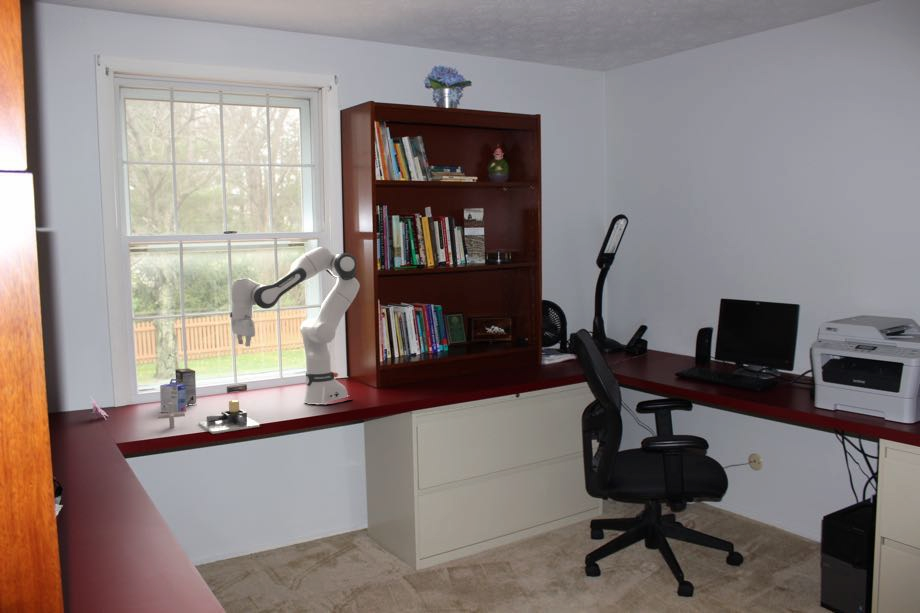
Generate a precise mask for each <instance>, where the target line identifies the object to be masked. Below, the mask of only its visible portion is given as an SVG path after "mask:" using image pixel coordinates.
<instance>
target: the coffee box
mask: <svg viewBox="0 0 920 613" xmlns="http://www.w3.org/2000/svg"><path fill="white" fill-rule="evenodd" d="M174 371H175V379H178V382H177V384H184V385H185V394H186V405H189V404H195V403H196V404H197V389H196V388H197V387H196V385H197V384H196V383H197V382H196V371H195V370H194V369H191V368H178V369H175V370H174Z"/></svg>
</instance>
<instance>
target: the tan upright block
mask: <svg viewBox="0 0 920 613" xmlns="http://www.w3.org/2000/svg"><path fill="white" fill-rule="evenodd" d="M239 409H240V400H236V399H233V400H229V401H228V411H229V414H236V413H239Z"/></svg>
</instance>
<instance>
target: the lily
mask: <svg viewBox="0 0 920 613" xmlns="http://www.w3.org/2000/svg"><path fill="white" fill-rule="evenodd" d="M89 396H90V398H91V399H92V401H91V400H89V402H90V403H91V404H92V406H93V407H92V412H91V413H90V414H89V416H88V419H87V420H90V418H91V416H92V415H93V414H94V413H95V414H99V415H100V416H103V418H104V419H105V420H107V418H106V416H107V417H109V415H108V414H107V413H106V411H104V410H103V409H102V406H99V405H98V404H97V402H96V400H95V399H94V398H93V397H92V396H91V395H89Z"/></svg>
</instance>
